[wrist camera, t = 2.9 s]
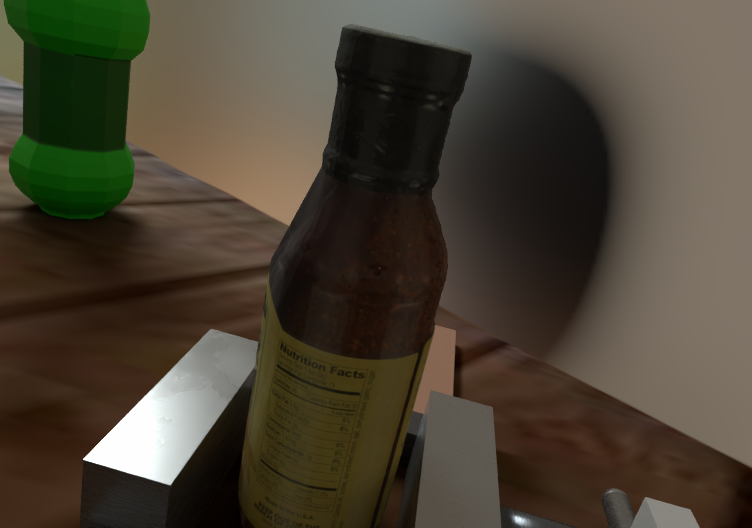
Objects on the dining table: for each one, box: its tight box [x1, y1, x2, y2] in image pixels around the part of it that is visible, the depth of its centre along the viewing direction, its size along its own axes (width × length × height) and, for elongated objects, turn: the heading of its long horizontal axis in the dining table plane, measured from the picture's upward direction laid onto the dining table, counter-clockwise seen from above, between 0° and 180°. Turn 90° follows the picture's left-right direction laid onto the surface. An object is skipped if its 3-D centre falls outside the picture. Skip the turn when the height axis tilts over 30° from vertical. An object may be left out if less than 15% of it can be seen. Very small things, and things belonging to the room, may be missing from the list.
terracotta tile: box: [413, 325, 456, 414], centre depth 39 cm, size 12×12×1 cm
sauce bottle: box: [238, 24, 472, 528], centre depth 21 cm, size 6×6×20 cm
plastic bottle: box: [4, 0, 150, 219], centre depth 48 cm, size 10×10×25 cm
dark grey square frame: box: [80, 329, 635, 528], centre depth 24 cm, size 21×15×5 cm
